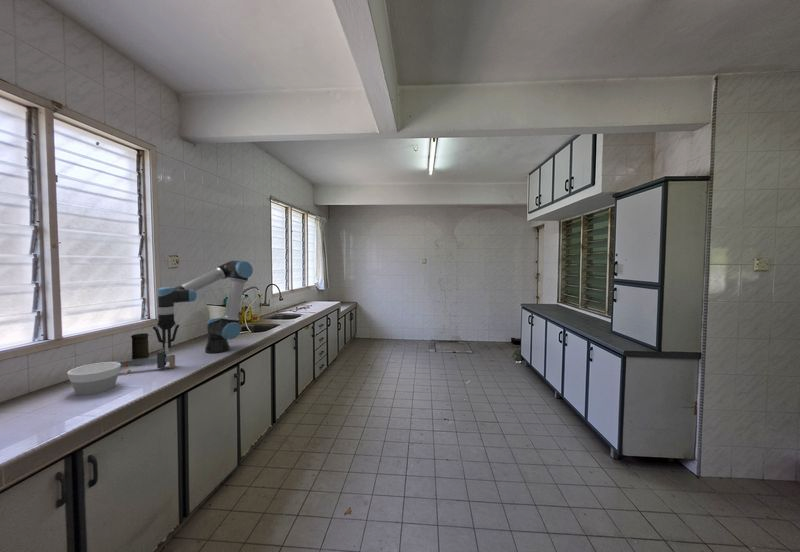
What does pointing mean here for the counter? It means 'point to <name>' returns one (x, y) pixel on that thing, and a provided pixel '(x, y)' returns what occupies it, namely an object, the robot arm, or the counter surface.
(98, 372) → the bowl
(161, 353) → the collar
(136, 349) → the container
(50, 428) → the counter surface
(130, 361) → the bar
